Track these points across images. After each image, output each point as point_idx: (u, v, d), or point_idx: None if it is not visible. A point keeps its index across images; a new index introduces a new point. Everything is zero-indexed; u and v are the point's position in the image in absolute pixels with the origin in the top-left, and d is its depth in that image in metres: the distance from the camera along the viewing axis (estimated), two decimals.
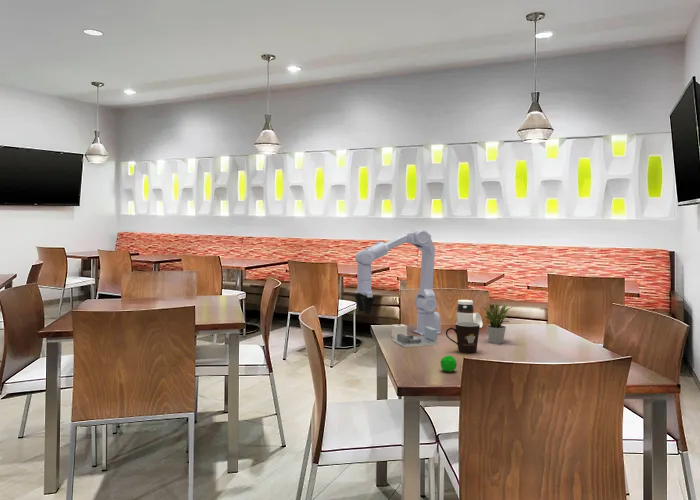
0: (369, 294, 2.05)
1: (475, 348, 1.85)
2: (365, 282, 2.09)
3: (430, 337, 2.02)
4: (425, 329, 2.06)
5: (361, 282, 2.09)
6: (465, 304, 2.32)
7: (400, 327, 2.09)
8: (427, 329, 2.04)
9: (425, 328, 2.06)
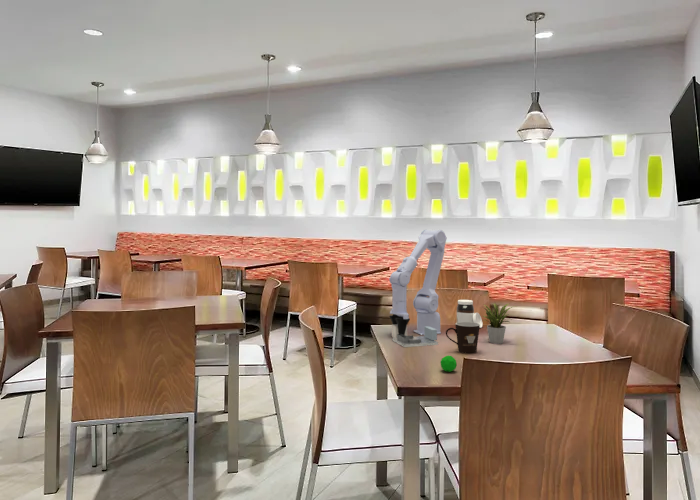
0: (405, 316, 2.04)
1: (475, 348, 1.85)
2: (401, 303, 2.08)
3: (430, 337, 2.02)
4: (425, 329, 2.06)
5: (396, 303, 2.09)
6: (465, 304, 2.32)
7: None
8: (427, 329, 2.04)
9: (425, 328, 2.06)
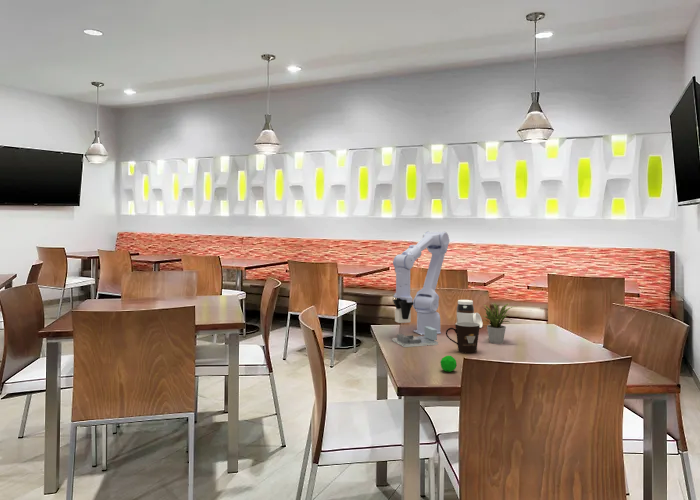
0: (409, 299, 2.01)
1: (475, 348, 1.85)
2: (404, 287, 2.05)
3: (430, 337, 2.02)
4: (425, 329, 2.06)
5: (400, 287, 2.06)
6: (465, 304, 2.32)
7: None
8: (427, 329, 2.04)
9: (425, 328, 2.06)
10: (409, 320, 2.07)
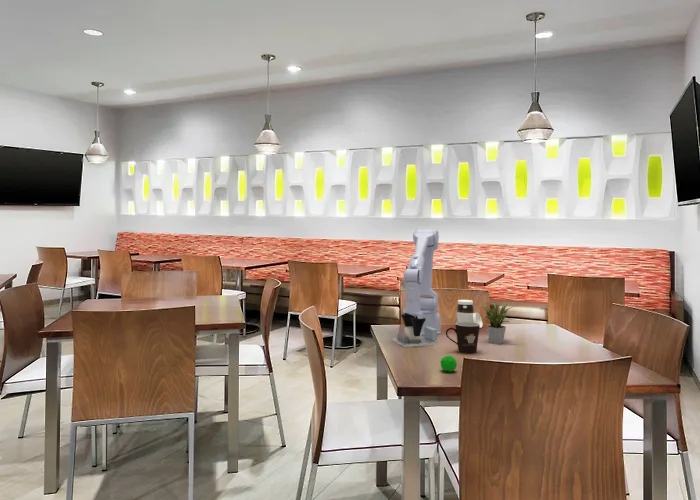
0: (420, 315, 1.94)
1: (475, 348, 1.85)
2: (414, 302, 1.98)
3: (430, 337, 2.02)
4: (425, 329, 2.06)
5: (410, 302, 1.99)
6: (465, 304, 2.32)
7: None
8: (427, 329, 2.04)
9: (425, 328, 2.06)
10: None
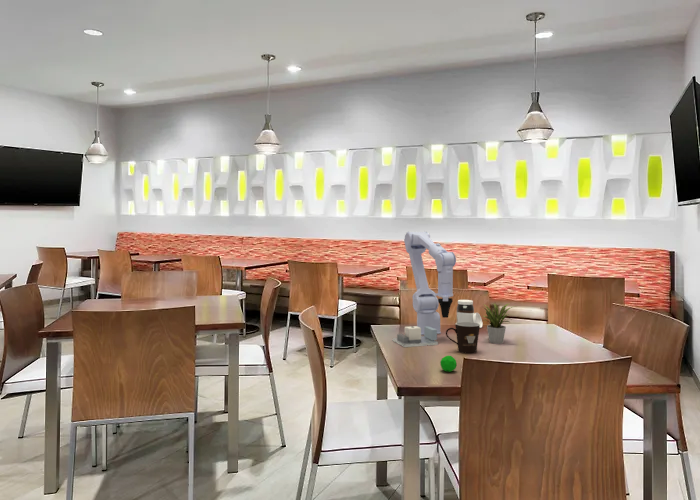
0: (444, 298, 1.98)
1: (475, 348, 1.85)
2: (444, 285, 2.02)
3: (430, 337, 2.02)
4: (425, 329, 2.06)
5: (440, 285, 2.03)
6: (465, 304, 2.32)
7: (414, 329, 1.99)
8: (427, 329, 2.04)
9: (425, 328, 2.06)
10: None
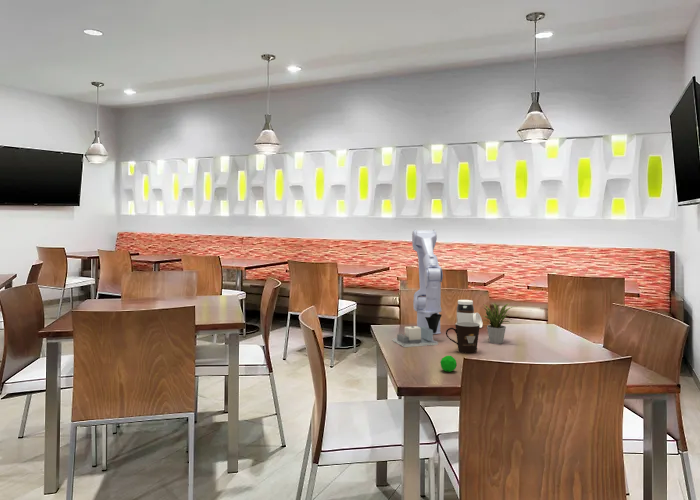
0: (426, 314, 1.97)
1: (475, 348, 1.85)
2: (429, 301, 2.01)
3: (426, 337, 2.01)
4: (421, 330, 2.06)
5: (426, 301, 2.03)
6: (465, 304, 2.32)
7: (414, 329, 1.99)
8: (423, 329, 2.04)
9: (421, 328, 2.05)
10: None
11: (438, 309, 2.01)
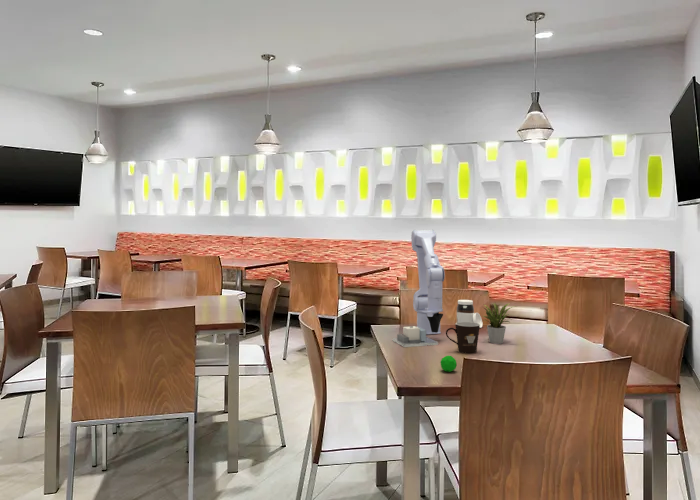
0: (428, 313, 1.98)
1: (475, 348, 1.85)
2: (431, 300, 2.01)
3: None
4: None
5: (428, 300, 2.03)
6: (465, 304, 2.32)
7: (412, 329, 1.99)
8: None
9: None
10: None
11: (440, 308, 2.02)
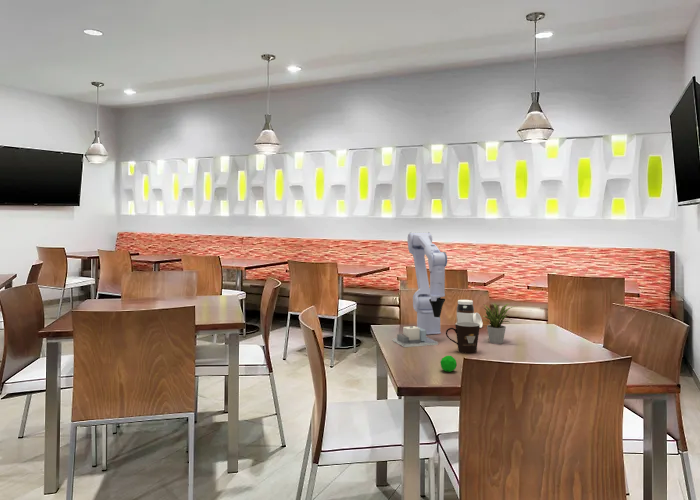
0: (432, 298, 1.98)
1: (475, 348, 1.85)
2: (434, 285, 2.02)
3: None
4: None
5: (431, 285, 2.04)
6: (465, 304, 2.32)
7: (412, 329, 1.99)
8: None
9: None
10: None
11: (443, 293, 2.03)
